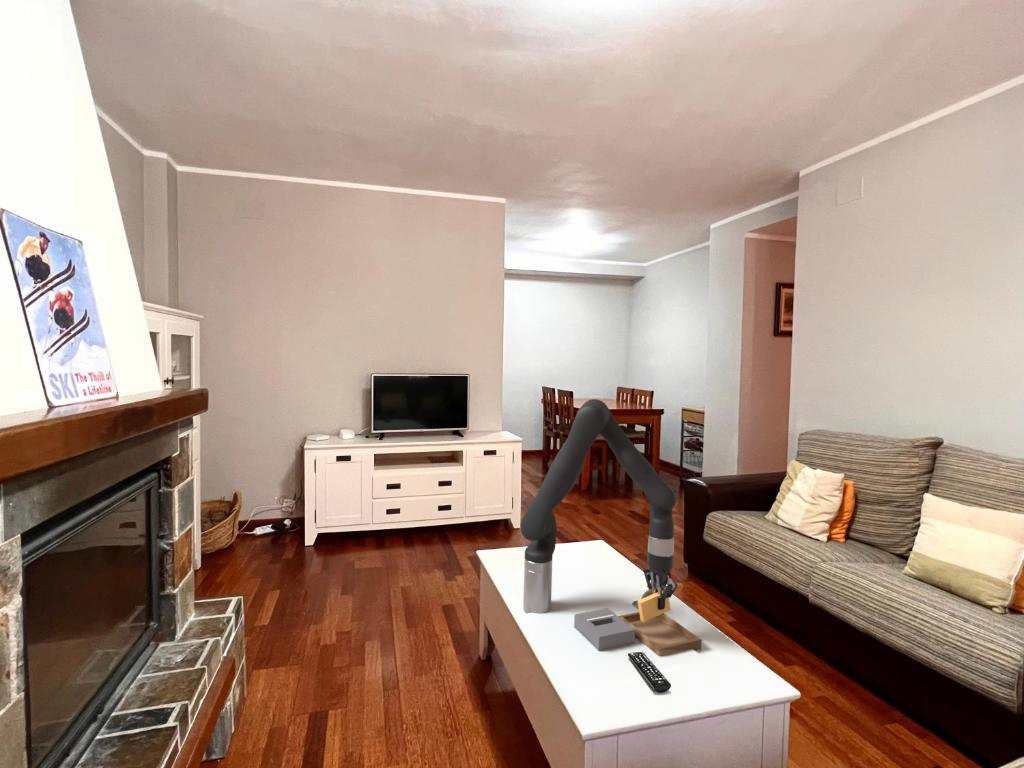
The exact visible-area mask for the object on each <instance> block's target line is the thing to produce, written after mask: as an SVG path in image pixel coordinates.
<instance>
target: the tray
mask: <svg viewBox="0 0 1024 768" xmlns="http://www.w3.org/2000/svg"><path fill="white" fill-rule="evenodd" d="M617 616H618V617H620V618H621V619H622V620H623V621H625V622H626V623H627V624H628V625H630V626H631V627H632V628H633V629H635V637H634V638H636V639H637V640H638V641H640V642H641V643H642V644H643V645H645V646H646V647H647V648H648V649H650V650H651V651H652V652H653V654H655V655H657V656H658V657H662V656H668V655H671V654H674V653H676V654H677V653H679V652H683V651H687V650H691V649H692V650H693V651H694V652H696V651H702V643H703V642H702V641H703V640H702V638H700V637H699V636H697V635H696V634H694V633H693V632H691V631H690V630H689V629H688V628H686V627H684V626H683V625H681V624H680V623H679V622H677V621H676V620H674V619H673V618H671V616H669V615H667V614H666V613H663V614H660V615H658V616H656V617H654V618H652V619H650V620H647V621H645V622H643V621H642V620H640V614H639V611H638V612H631V613H627V614H622V615H617Z"/></svg>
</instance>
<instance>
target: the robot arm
mask: <svg viewBox="0 0 1024 768" xmlns="http://www.w3.org/2000/svg"><path fill="white" fill-rule="evenodd" d="M599 435H600V436H601V437H602V438H603V439H604V441H606V443H607V444H608V445H609V446H610V449H611V451H612V452H613V454H614V456H615V457H616V459H617V462H618V463H619V464H620V466H621V468H622V469H623V470H624V472H625V473H626V474H627V476H629V477H630V478H631V479H632V480H633V482H634V483H636V485H637V486H638V487H639V488H640V489H641V490H642V492H643V493H644V495H645V496H646V497H647V499H648V502H649V503H648V504H649V526H648V528H649V529H648V531H649V533H648V541H647V559H646V560H647V563H646V564H647V566H648V568H644V569H643V570H642V571H643V575H644V578H645V582H646V586H647V585H648V587H647V588H648V590H649V589H650V590H652V594H654V593H657V592H658V607H657V608H658V609H659V610H663V609H664V608H665V598H669V599H670V598H671V597H672V596H673V595H674V593H675V591H676V590H677V588H678V584H677V583H676V582H674V581H673V580H672V573H671V572H672V570H673V568H674V557H675V556H674V555H675V542H674V541H675V540H674V531H675V530H674V527H675V526H674V525H675V524H674V519H673V508H675V506H676V504H677V496H676V493H675V491H674V490H673V488H671V486H670V485H669V484H668V483H666V482H665V480H663V479H662V478H661V477H660V475H659V474H658V472H657V471H656V470H655V468H654V467H653V465H652V463H650V462H649V461H648V460H647V459H646V457H644V455H643V454H642V453H641V451H640V450H639V449H637V447H636V445H635V444H633V442H632V441H631V439H630V438H629V437H628V436H627V435H626V433H625V432H624V430H623V429H622V427H621V426H620V425H619V423H618V421H617V420H616V418H615V417H614V415H613V413H612V412H611V410H610V409H609V407H608V405H607V404H606V403H605V402H604V401H602V400H600V399H597V398H592V399H589V400H587V401H585V402H584V403H583V404H582V405H581V406H580V407H579V408H578V410H577V412H576V415H575V417H574V421H573V424H572V426H571V429H570V430H569V434H568V437H567V438H566V440H565V442H564V443H563V445H562V446H561V448H560V449H559V451H558V452H557V454H556V456H555V457H554V459H553V461H552V463H551V465H550V467H549V469H548V471H547V473H546V475H545V477H544V479H543V482H542V483H541V485H540V487H539V490H538V492H537V494H536V496H535V497H534V499H533V500H532V502H531V504H529V507H528V508H527V510H525V513H524V514H523V516H522V519H521V521H520V532H521V535H522V536H523V538H524V539H525V540H527V541H530V543H529V544H528V545H527V547H526V548H525V550H524V566H523V567H524V571H523V572H524V573H523V597H522V598H523V600H522V601H523V605H522V606H523V607H522V609H523V611H524V613H526V614H545V613H548V612H549V611H551V610H552V592H553V590H552V589H553V587H552V586H553V585H552V583H553V555H554V552H555V550H556V540H557V519H556V517H555V514H554V513H553V511H554V509H556V507H557V506H558V505H559V504H560V503H561V502H562V501H563V500H564V499H565V498H566V497H567V496H568V494H569V493H570V492H571V491H572V490H573V488H574V487H575V485H576V483H577V481H578V478H579V477H580V475H581V473H582V470H583V467H584V465H585V462H586V458H587V455H588V454H589V453H588V452H589V450H590V449H591V447H592V446H593V444H594V442H595V441H596V439H597V438H598V436H599ZM662 590H663V593H662Z"/></svg>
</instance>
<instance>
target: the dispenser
mask: <svg viewBox="0 0 1024 768" xmlns="http://www.w3.org/2000/svg"><path fill="white" fill-rule="evenodd" d="M618 616H619V615H617V614H616V613H615V612H614V611H612V610H611V609H609V608H608V607H607V608H603V609H597V610H591V611H585V612H579V613H576V614H574V621H573V622H574V623H573V628H574V629H575V630H576V631H577V632H578V633H579V634H580V635H581V636H583V638H585V639H586V640H587V642H588V643H590V645H592V646H593V647H594V649H596V651H598V652H601V651H606V650H611V649H614V648H615V649H616V648H619V647H624V646H629V645H633V644H634V645H635V638H636V637H635V629H633V628H632V627H631V626H630V625H628V624H627V623H626V622H625V621H623V620H622V619H621V618H620V617H618Z"/></svg>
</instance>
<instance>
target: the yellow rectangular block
mask: <svg viewBox="0 0 1024 768" xmlns="http://www.w3.org/2000/svg"><path fill="white" fill-rule="evenodd" d="M662 593H663V590H662ZM637 601H638V607H639V609H638V612H639V614H640V620H642V621H643V622H645V621H647V620H650V619H652V618H654V617H656V616H658V615H660V614H663V613H664V614H666V612H670V611H671V610H672V609H671V603H670V598H665V608H664V609H663V610H659V609H658V608H657V607H658V592H657V593H654V594H652V595H650V596H647V597H645V598H643V599H641V598H640V599H639V600H637Z"/></svg>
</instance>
